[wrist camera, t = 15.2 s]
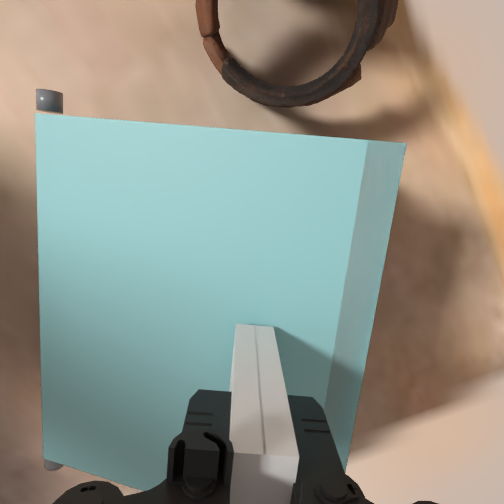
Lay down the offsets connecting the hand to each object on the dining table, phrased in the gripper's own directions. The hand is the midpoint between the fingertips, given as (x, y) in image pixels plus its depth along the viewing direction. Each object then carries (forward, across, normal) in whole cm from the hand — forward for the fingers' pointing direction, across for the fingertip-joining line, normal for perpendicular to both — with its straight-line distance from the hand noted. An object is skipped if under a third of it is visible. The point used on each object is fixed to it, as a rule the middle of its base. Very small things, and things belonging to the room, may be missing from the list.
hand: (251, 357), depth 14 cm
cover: (+2, -3, 0) cm, 3 cm away
